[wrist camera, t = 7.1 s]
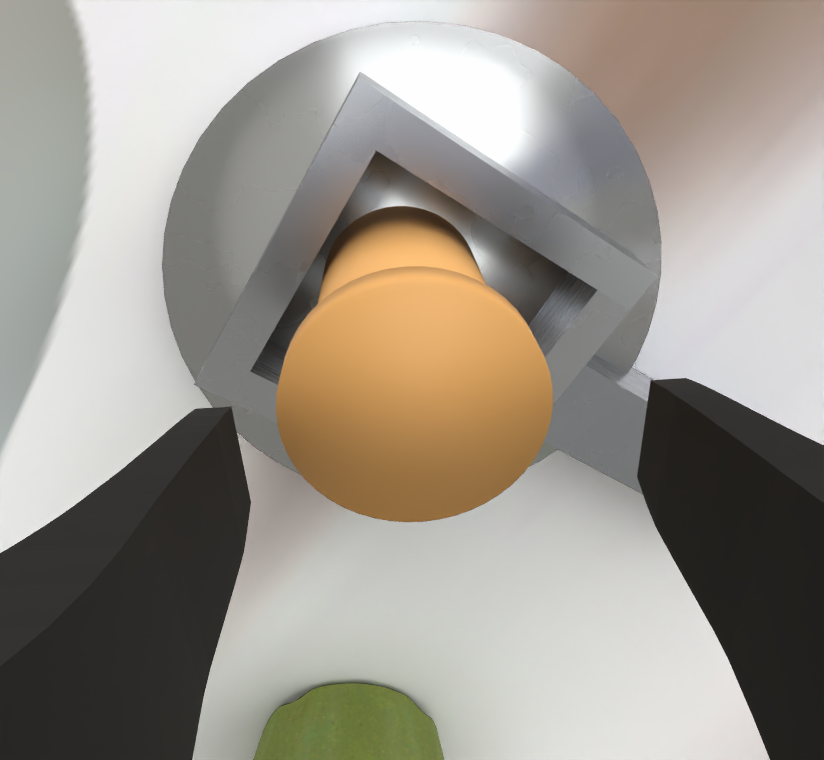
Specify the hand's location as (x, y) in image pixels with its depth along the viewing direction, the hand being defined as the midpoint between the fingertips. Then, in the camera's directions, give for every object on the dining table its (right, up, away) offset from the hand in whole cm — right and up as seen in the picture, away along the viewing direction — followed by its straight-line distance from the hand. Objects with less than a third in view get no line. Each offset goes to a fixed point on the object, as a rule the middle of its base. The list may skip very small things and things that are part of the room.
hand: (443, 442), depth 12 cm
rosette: (+2, +2, +8) cm, 8 cm away
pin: (-1, +4, +6) cm, 7 cm away
